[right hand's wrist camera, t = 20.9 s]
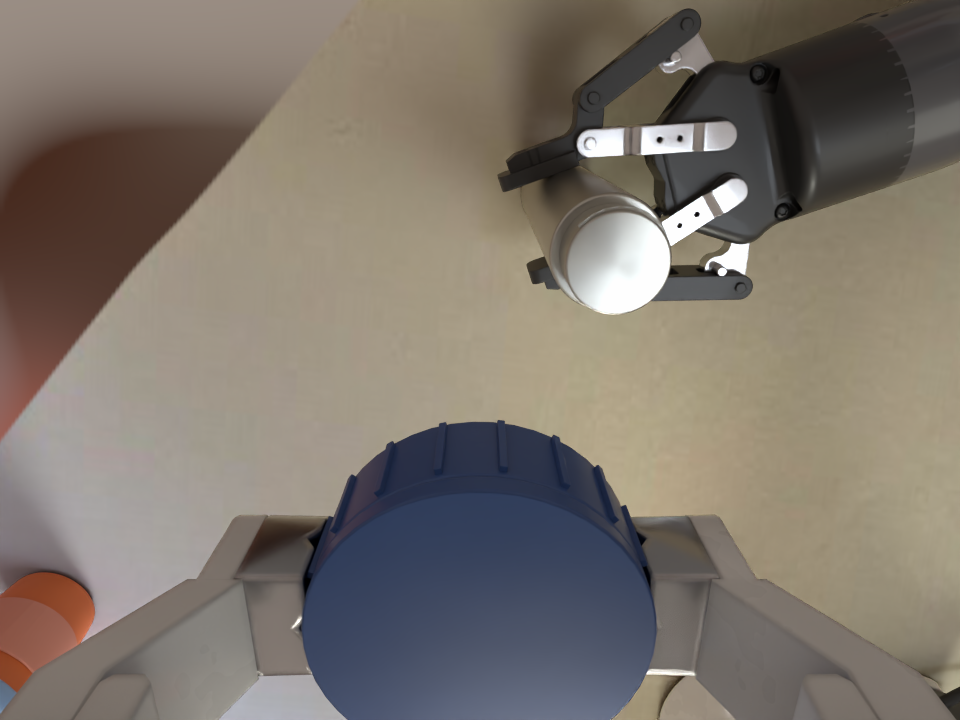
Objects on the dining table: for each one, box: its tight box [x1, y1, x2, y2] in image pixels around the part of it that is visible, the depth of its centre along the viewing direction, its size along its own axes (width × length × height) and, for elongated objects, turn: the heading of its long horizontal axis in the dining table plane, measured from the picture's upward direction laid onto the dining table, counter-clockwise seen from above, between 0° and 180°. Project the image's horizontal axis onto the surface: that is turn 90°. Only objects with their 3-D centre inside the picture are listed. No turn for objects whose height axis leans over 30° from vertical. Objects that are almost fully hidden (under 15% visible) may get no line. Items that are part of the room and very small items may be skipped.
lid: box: [301, 420, 657, 720], centre depth 10 cm, size 5×5×2 cm
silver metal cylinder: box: [521, 166, 672, 315], centre depth 29 cm, size 4×4×18 cm
